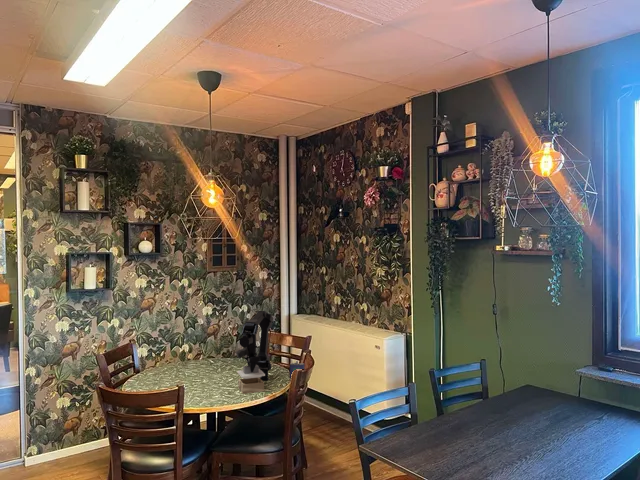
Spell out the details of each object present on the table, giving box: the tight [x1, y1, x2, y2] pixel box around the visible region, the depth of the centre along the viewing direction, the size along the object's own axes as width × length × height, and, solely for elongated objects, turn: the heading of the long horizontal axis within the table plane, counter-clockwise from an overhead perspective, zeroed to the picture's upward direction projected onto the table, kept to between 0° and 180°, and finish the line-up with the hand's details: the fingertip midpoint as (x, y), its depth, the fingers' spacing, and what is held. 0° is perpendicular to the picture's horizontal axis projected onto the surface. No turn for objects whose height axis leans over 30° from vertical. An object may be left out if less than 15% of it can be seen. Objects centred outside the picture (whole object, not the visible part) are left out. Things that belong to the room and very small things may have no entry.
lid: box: [236, 365, 265, 379], centre depth 271 cm, size 13×13×6 cm
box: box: [237, 377, 265, 395], centre depth 271 cm, size 12×12×5 cm
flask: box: [289, 360, 305, 379], centre depth 294 cm, size 9×3×11 cm, turn 88°
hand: (251, 371), depth 271 cm, fingers closed on lid, 4 cm apart
